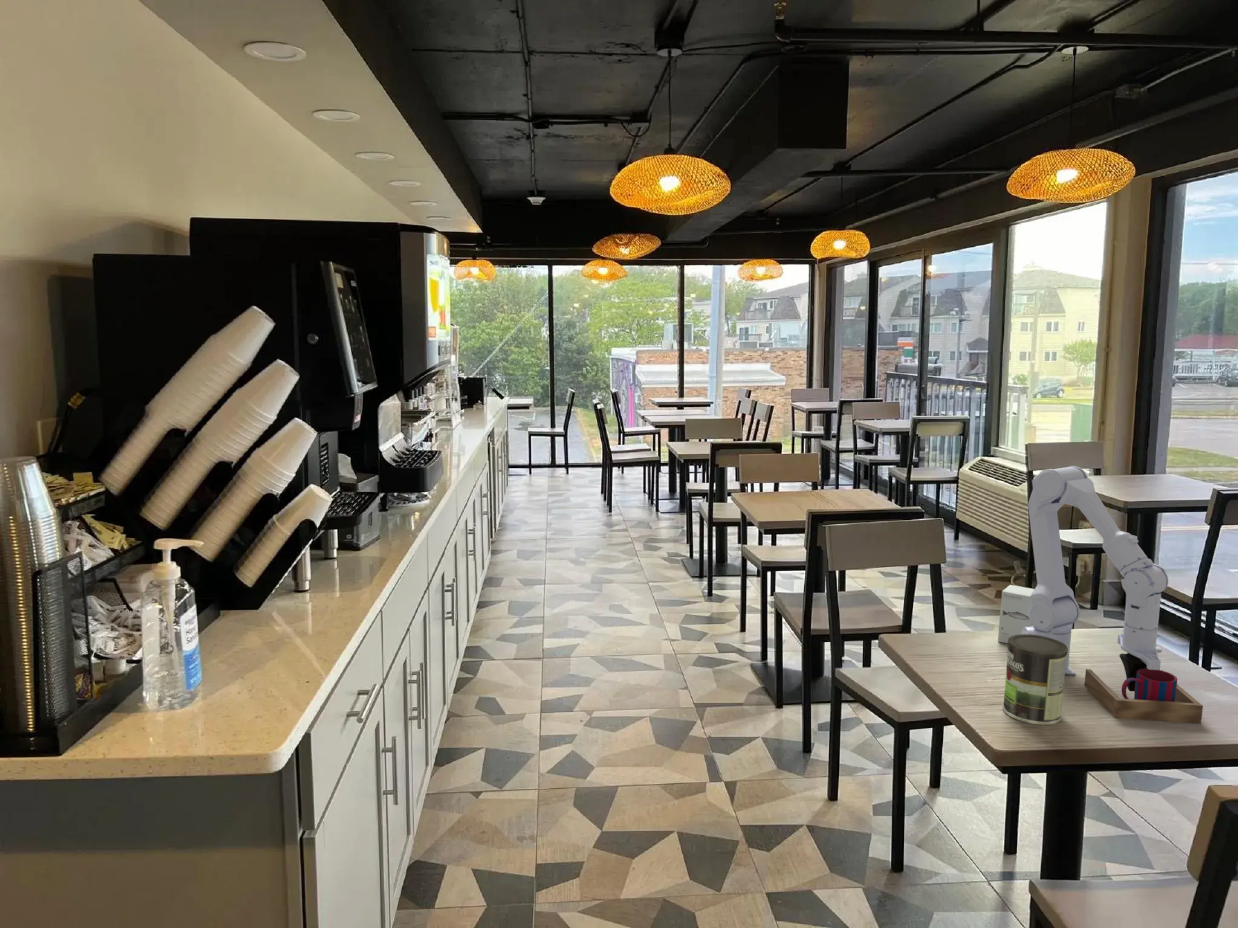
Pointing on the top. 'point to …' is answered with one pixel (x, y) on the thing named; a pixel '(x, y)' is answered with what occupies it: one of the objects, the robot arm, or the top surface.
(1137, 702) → the holder
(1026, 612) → the supplement box
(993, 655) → the top surface
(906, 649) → the top surface
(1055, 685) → the coffee can
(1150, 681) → the mug
